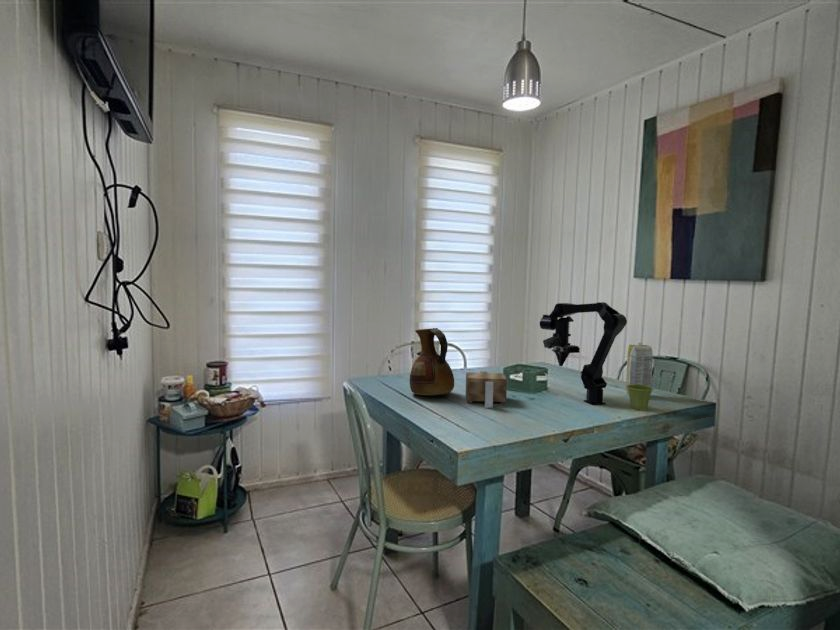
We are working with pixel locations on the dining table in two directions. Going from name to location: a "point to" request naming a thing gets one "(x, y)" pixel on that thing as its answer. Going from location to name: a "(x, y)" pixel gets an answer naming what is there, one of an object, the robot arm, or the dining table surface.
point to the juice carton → (639, 365)
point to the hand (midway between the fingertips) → (560, 366)
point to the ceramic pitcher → (431, 366)
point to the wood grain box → (477, 386)
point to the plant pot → (639, 396)
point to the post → (488, 395)
